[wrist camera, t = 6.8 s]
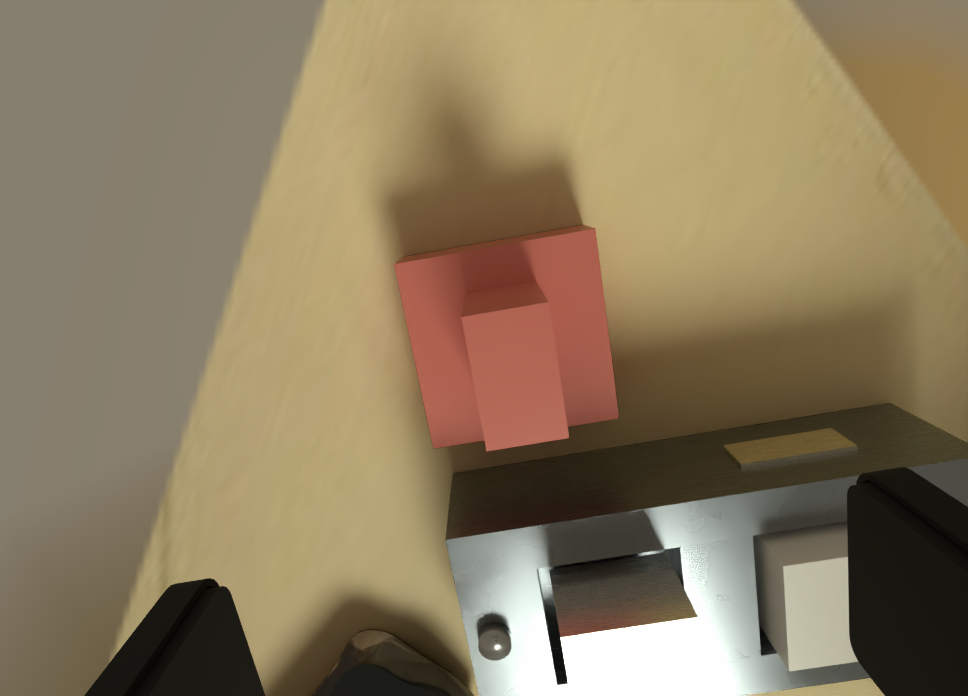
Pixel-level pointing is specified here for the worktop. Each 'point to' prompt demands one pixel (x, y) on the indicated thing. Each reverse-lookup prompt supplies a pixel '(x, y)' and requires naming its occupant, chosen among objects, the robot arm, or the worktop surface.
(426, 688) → the black sponge
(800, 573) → the button
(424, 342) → the cap
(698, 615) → the panel
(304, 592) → the worktop surface
